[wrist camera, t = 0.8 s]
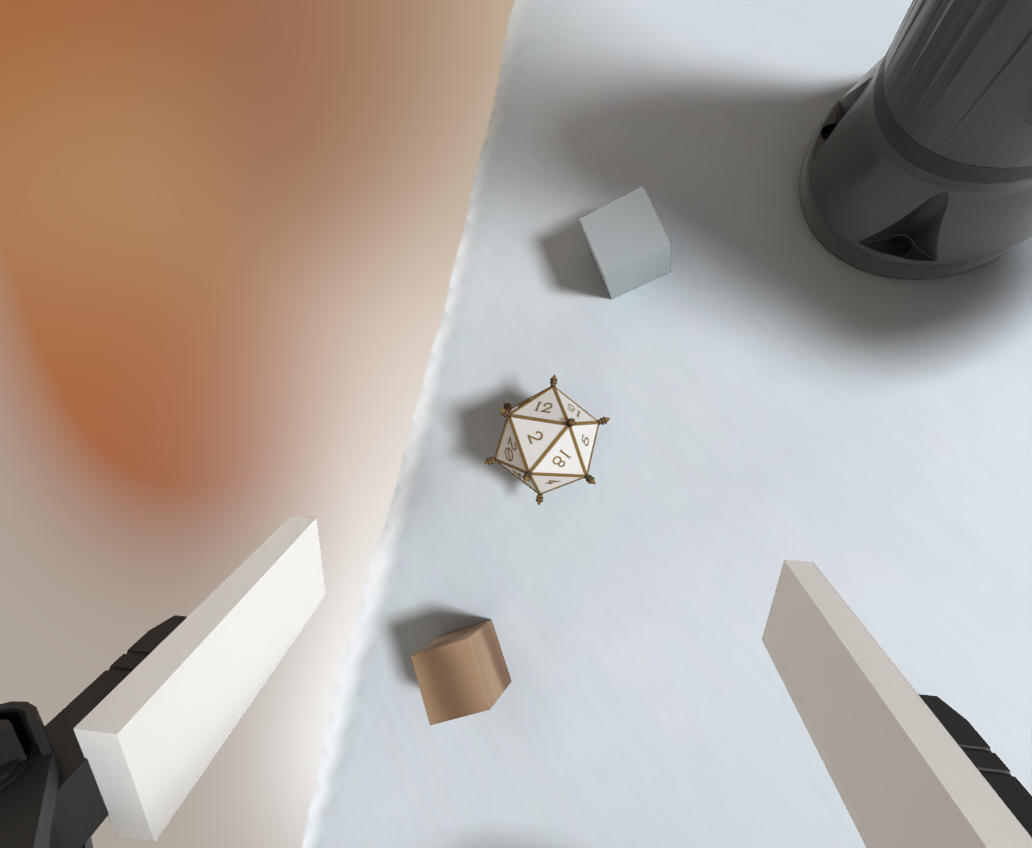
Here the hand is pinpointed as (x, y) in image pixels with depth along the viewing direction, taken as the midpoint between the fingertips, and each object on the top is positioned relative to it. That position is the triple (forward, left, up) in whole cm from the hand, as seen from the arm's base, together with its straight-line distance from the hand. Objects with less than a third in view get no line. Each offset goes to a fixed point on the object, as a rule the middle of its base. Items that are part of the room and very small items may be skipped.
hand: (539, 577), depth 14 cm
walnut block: (+16, +7, -25) cm, 31 cm away
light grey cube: (-8, -19, -25) cm, 33 cm away
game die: (+3, -7, -25) cm, 26 cm away
